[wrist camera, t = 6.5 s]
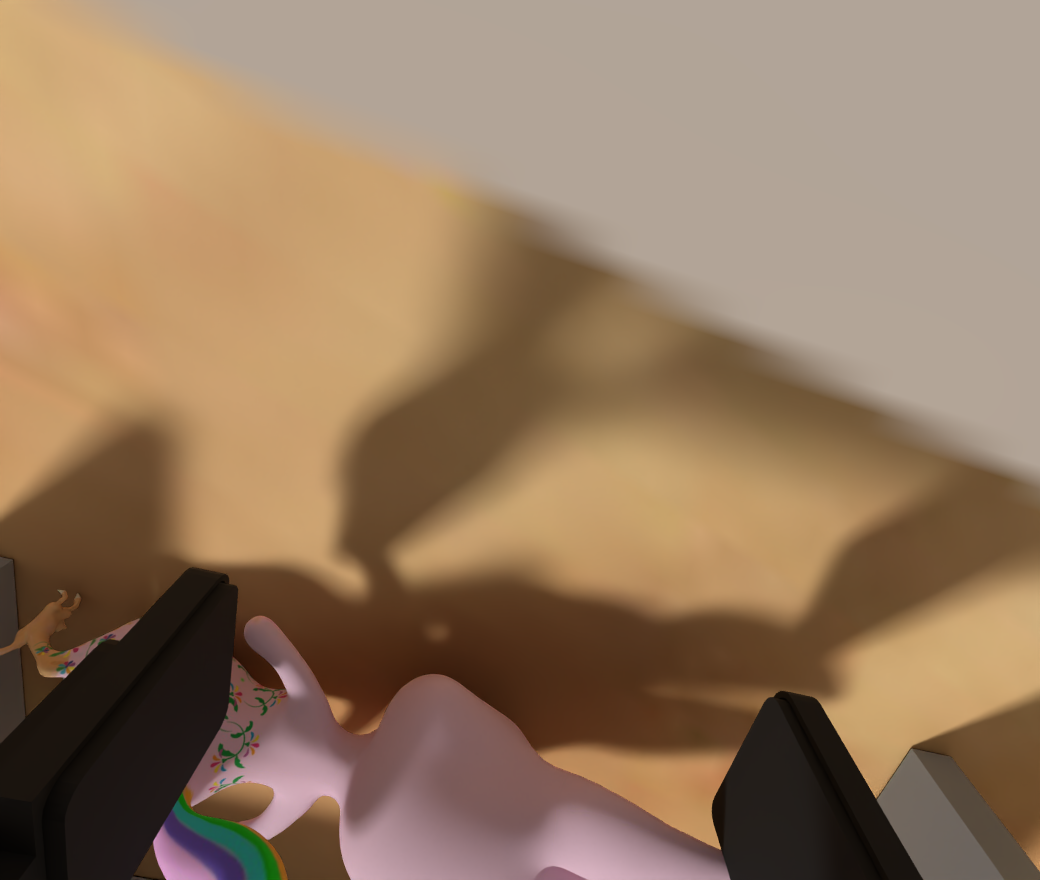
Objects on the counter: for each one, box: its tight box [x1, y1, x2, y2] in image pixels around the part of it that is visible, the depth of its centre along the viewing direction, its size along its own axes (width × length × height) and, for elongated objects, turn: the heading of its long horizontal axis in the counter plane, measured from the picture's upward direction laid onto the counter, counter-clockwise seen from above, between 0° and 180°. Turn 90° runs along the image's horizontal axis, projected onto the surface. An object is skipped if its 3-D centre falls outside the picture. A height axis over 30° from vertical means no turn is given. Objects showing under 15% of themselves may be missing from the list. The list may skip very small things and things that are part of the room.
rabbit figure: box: [0, 590, 730, 880], centre depth 11 cm, size 6×6×15 cm
